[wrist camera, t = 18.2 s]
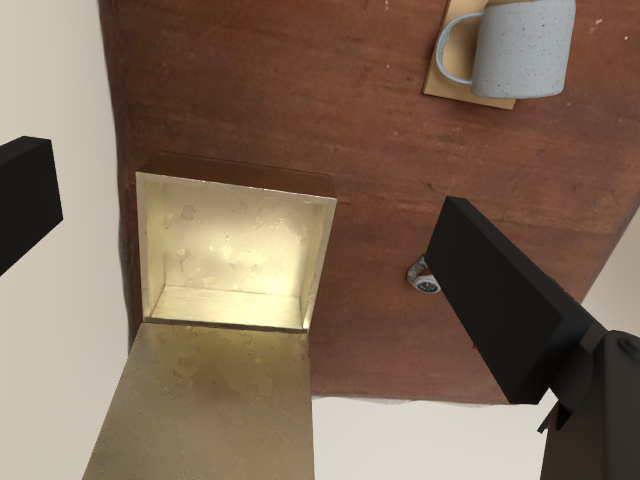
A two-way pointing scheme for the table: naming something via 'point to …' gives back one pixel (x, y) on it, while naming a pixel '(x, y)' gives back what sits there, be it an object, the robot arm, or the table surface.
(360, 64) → the table surface
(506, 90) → the ceramic mug
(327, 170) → the table surface
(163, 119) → the table surface
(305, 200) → the open metal box
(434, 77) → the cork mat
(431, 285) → the wristwatch
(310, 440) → the box lid
